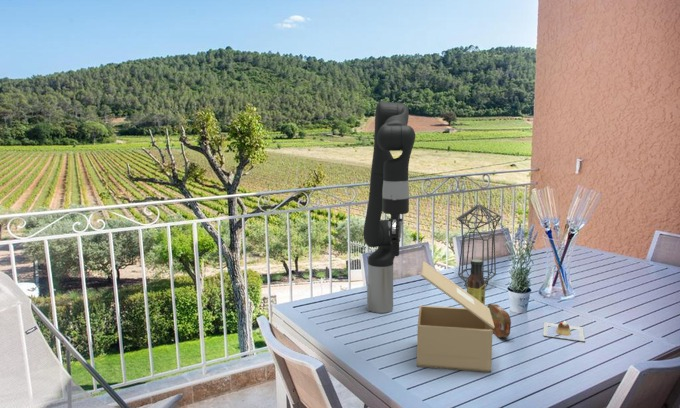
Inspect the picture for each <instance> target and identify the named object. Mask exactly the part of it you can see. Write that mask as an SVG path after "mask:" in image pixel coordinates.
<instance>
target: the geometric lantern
mask: <svg viewBox="0 0 680 408" xmlns="http://www.w3.org/2000/svg"><path fill="white" fill-rule="evenodd" d="M480 212H481V213H480ZM479 213H480V214H479ZM491 213H492V214H494V215H492V214H491ZM469 215H471V216H470V218H469V219H468V216H469ZM473 217H474V218H475V221H471V220H472V218H473ZM479 217H481V218H479ZM483 217H485V218H486V221H483ZM501 219H502V215H500V214H498V213H496V212H495V211H493V210H491V209H489V208H487V207H485V206H484V205H482V204H480V203H479V204H475V205H474V206H473V207H471V208H470V209H469V210H467V211H466V212H464V213H463V214H461V215H459V216H458V217H456V218H455V220H456V221H458V222H460V225H461V238H462V239H461V246H460V247H461V249H460V255H459V265H458V266H459V267H458V273H457V274H458V275H457V276H458V277H459V278H460V279H461V280H462V281H463V282H464V284H463V285H464V287H467V283H468V281H467V280H468V277H469V276H470V274H469V272H468V271H471V268H468V261H469V253H470V243H471V240H472V250H471V251H472V253H471V260H474V250H475V240H478V241H482V259H481V260H482V261H483V265H482V274H483V275H484V273H487V277H484V280H485V288H486V287H487V286H488V285H489V281H491V280H492V279H493V278H494V277H495V276H496V275H497V273H496V272H497V267H496V264H497V263H496V242H495V241H496V239H495V234H496V228H497V227H498V224H499V222H500V221H501ZM470 224H474V227H470ZM476 224H477V225H476ZM491 224H492V227H491ZM487 225H488V226H489V229H490V230H491V231H490V233H489V232H480V231H479V229H480V228H482V227H484V226H487ZM464 226H466V228H468V229H469V230H468V231H467V232H466V233H464V229H463V227H464ZM472 230H473V231H472ZM475 233H476V234H478V235H479V236H480V238H477V237H476V238H475ZM471 234H473V235H472V237H471ZM482 234H483V235H489V236H488V237H487V239H485V238H483V236H482ZM467 235H468V236H467ZM466 239H468V244H467V253H466V260H465V261H466V264H465V269H464V258H465V255H464V254H465V240H466ZM490 239H491V264H490V259H489V257H490V254H489V250H490V249H489V240H490ZM485 241H486V253H487V254H486V256H487V258H486V259H487V270H484V268H485V267H484V265H485V264H484V263H485V261H484V260H485V259H484V258H485V255H484V253H485ZM490 265H491V266H490ZM493 265H494V266H493ZM490 267H491V268H490ZM493 267H494V271H493ZM465 272H466V274H467V277H466V276H463V275H464V273H465ZM491 274H493V275H492V276H490V275H491Z"/></svg>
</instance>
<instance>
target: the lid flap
mask: <svg viewBox="0 0 680 408" xmlns="http://www.w3.org/2000/svg"><path fill="white" fill-rule="evenodd" d="M421 264H422V265H421V273H420V277H422V278H423V279H424V280H425V281H427V282H429V283H430V284H431V285H433V287H436V289H438V290H439V291H441V292H442V293H444V294H445V295H447V296H448V297H449V298H451V299H452V300H453V301H455V302H456V303H458V304H459V305H461V306H462V308H466V309H467V310H468V311H470V312H471V313H473V314H474V315H475V316H477V317H478V318H479V319H481V320H482V321H484V322H485V323H486V324H488V325H489V326H490V327H492V328H493V329H494V328H495V326H494V323H493V320H492V316H491V313H490V309H489V308H488V307H487V306H488V305H486V304H485V305H484V304H483V303H481V302H480V301H478V300H477V299H476V298H474V297H473V296H471V295H470V294H469V293H467V290H465V289H463V288H462V287H460V286H459V285H458V284H457V283H455V282H453V281H452V280H451V279H450V278H448V277H446V276H445V275H444V274H442V272H440V271H438V270H437V269H435V268H434V267H433V266H431V265H430V264H429V263H427V262H426V261H424V260H423V261H422V262H421Z"/></svg>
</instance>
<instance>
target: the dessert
mask: <svg viewBox="0 0 680 408" xmlns="http://www.w3.org/2000/svg"><path fill="white" fill-rule="evenodd" d="M549 327H553V328H554V327H555V328H556V330H555V333H556V334H557V335H560V336H571V335H572V331H571V330H578V335H579V336H578V337H579V339H574V338H568V337H560V336H553V335H548V334H549V333H548V332H549ZM542 331H543V334H542V335H543V336H544V337H546V338H554V339H555V338H556V339H560V340H561V339H562V340H569V341H575V342H576V341H577V342H586V338H585V332H584V327H583V326H578V325H577V326H575V325H569V324H568V323H567V322H566V320H564V321H561V322H559V323H552V322H546V321H545V322H543V330H542Z"/></svg>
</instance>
